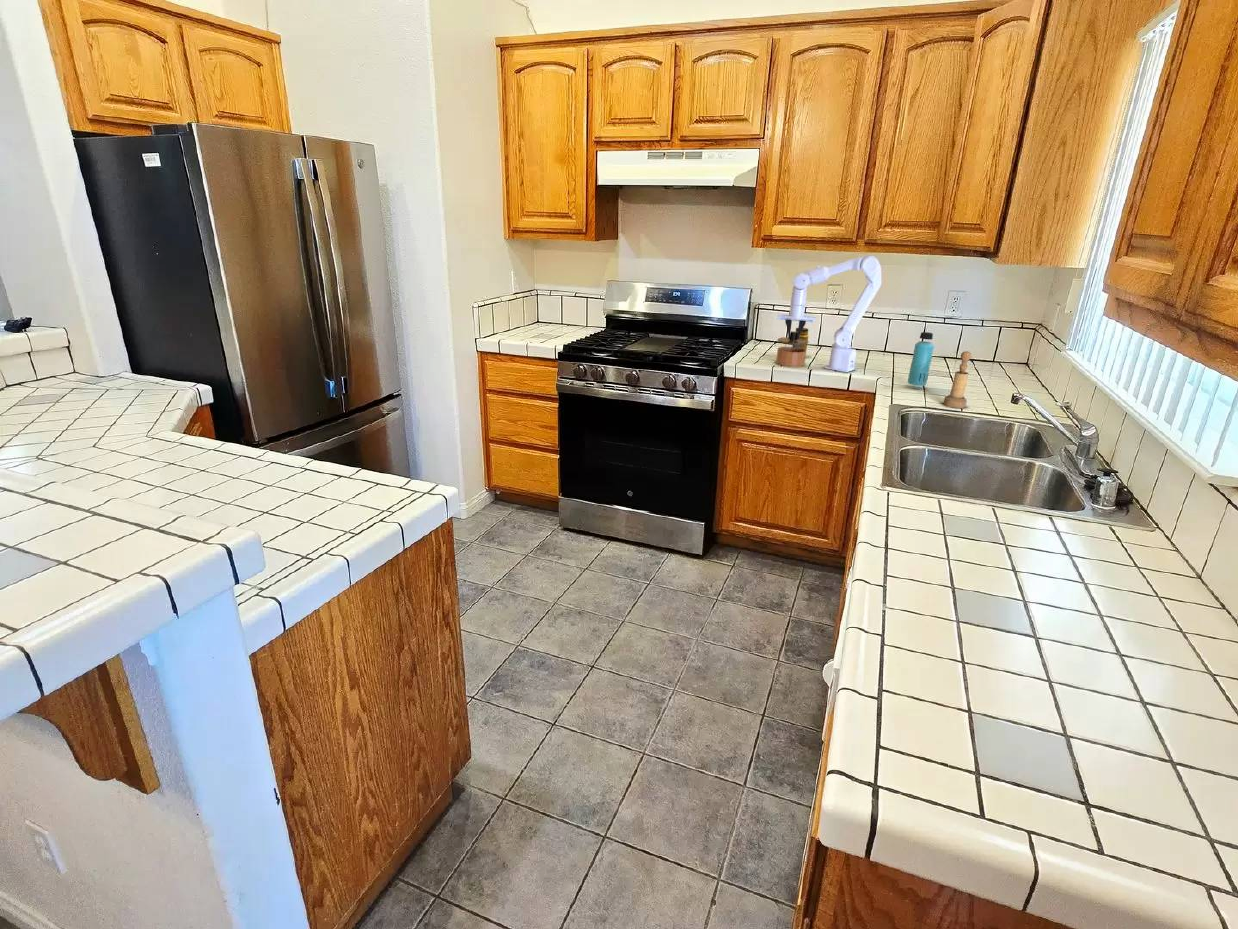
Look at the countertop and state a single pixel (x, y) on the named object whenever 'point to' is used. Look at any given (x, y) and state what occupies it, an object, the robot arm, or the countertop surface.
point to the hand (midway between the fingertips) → (793, 339)
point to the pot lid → (793, 340)
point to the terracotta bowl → (791, 356)
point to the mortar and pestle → (959, 385)
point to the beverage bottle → (921, 360)
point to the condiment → (802, 336)
